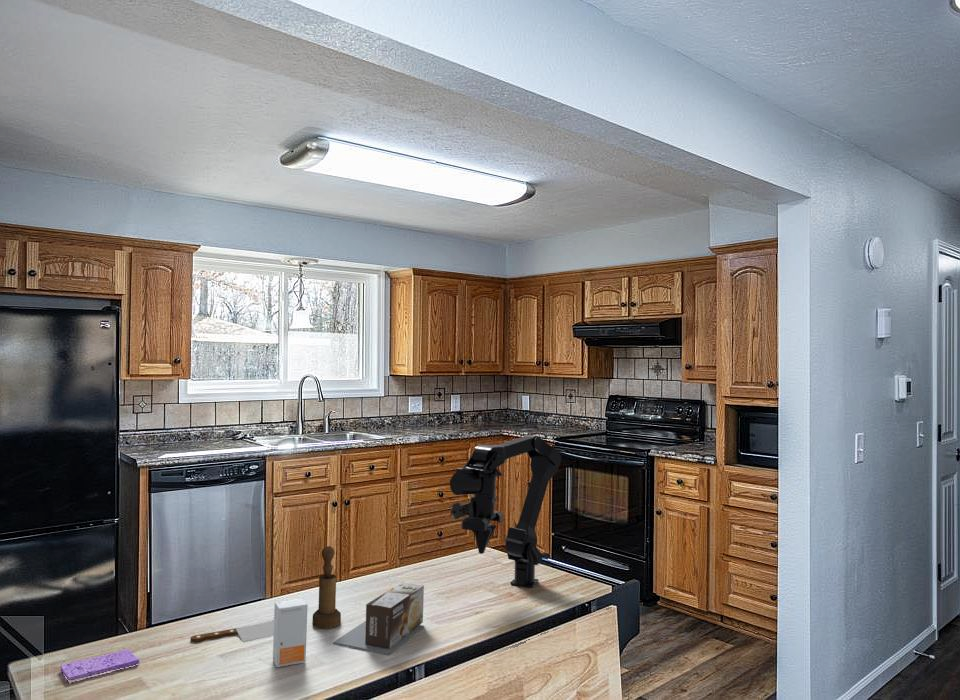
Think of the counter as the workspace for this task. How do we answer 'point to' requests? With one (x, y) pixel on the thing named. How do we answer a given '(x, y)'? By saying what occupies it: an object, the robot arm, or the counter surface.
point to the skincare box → (290, 632)
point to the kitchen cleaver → (240, 633)
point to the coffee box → (394, 615)
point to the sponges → (99, 664)
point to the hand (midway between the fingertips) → (481, 553)
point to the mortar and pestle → (327, 595)
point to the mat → (357, 641)
